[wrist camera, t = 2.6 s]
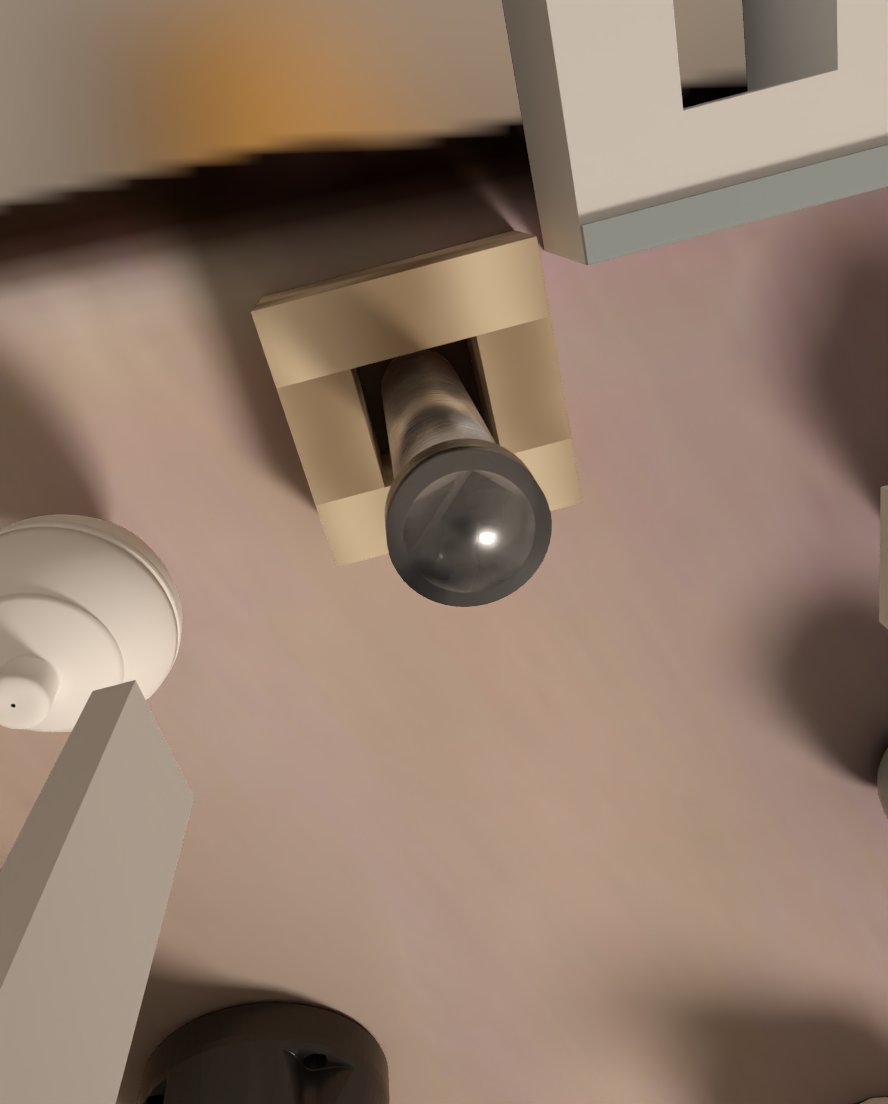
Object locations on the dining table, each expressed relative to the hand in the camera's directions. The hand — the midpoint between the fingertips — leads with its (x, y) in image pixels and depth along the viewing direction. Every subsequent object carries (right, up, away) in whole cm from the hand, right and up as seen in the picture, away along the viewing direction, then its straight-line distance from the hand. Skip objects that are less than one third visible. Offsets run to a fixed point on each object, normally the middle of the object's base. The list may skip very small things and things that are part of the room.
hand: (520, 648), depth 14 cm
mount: (-2, +8, +19) cm, 21 cm away
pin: (-2, +8, +19) cm, 21 cm away
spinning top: (-15, +2, +20) cm, 25 cm away
